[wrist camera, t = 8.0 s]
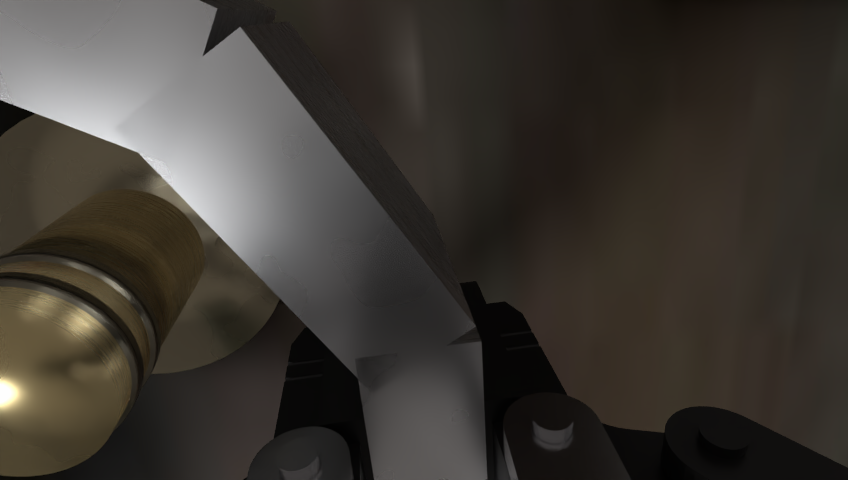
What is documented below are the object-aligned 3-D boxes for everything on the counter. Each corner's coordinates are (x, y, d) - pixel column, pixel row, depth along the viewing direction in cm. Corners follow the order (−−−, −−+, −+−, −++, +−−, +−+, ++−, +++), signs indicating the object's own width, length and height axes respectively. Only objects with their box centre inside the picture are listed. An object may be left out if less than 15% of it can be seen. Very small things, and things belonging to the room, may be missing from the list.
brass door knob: (259, 81, 15) (184, 135, 8) (311, 340, 19) (288, 522, 12) (-73, 113, 14) (-444, 201, 8) (48, 376, 18) (-132, 592, 11)
